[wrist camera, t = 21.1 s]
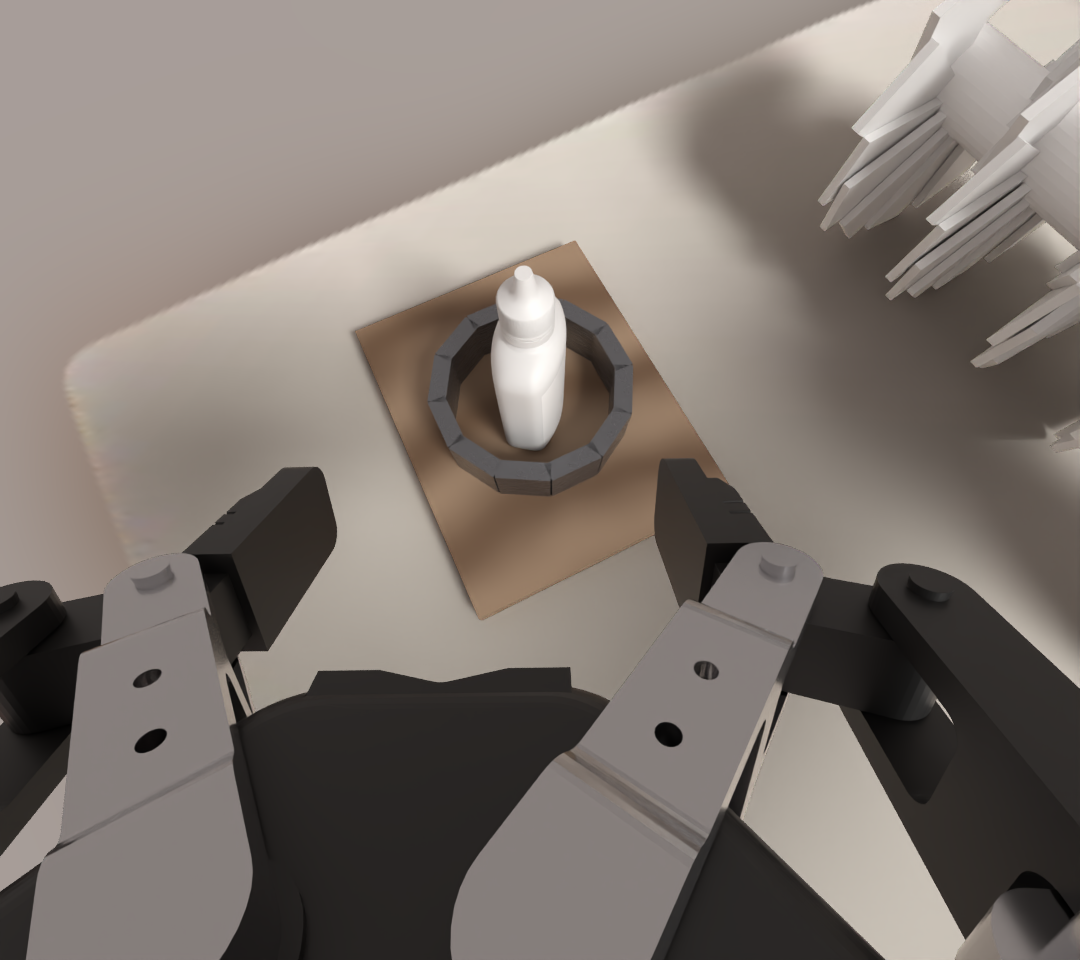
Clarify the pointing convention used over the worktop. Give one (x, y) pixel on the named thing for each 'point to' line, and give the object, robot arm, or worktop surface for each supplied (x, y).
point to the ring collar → (521, 476)
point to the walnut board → (524, 520)
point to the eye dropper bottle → (529, 359)
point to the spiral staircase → (1000, 175)
